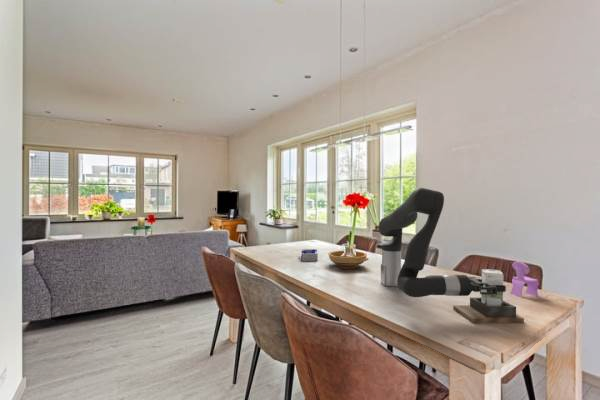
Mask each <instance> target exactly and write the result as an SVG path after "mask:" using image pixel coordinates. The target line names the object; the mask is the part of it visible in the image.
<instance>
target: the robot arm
mask: <svg viewBox="0 0 600 400" xmlns="http://www.w3.org/2000/svg"><path fill="white" fill-rule="evenodd" d="M444 202H445V195H444V194H443V193H442V192H441V191H438V190H434V189H430V188H425V187H416V188H415V189H414V190H412V192H411V193H410V194H409V196H408V197H407V198H406V200H405V201H403V203H401V204H400V205H399V206H397V207H396V208H395V209H394V210H393V211H392V212H391V213H390V214H389V215H387V216H385V217H383V218H381V220H380V221H379V223H378V225H377V226H378V227H377V228H378V233H379V234H380V235H381V236H383V237H391V240H388V241H387V242H384V243H382V244H381V253H382V254H381V263H380V283H381V285H383V286H384V287H397V288H398V289H399V290H400V291H401V292H402V293H403V294H405V296H408V297H411V298H423V297H428V296H446V297H447V296H448V297H467V296H470V295H471V293H472V292H473V293H479V295H481V294H482V295H483V294H497V292H503V293H506V291H507V287H506V285H504V284H503V285H489V284H488V283H485V282H482V278H477V277H475V276H467V275H466V274H441V275H440V274H439V275H435V274H434V275H430V274H429V275H427V276H425V277H418V275H419V272H421V271H422V270H424V268H425V264H426V261H427V260H426V259H427V256H428V250H429V248H430V243H431V241H432V238H433V237H434V233H435V230H436V227H437V225H438V222H439V219H440V216H441V214H442V211H443V208H444V204H445V203H444ZM418 213H419V214H425V215H427V219H426V221H425V224H424V225H423V226H422V228H421V229H420V230H419V231H418V232H417V233H416V234H415V235H414V236H413V237H412V238H411V239H410V241H409V243H408V245H407V248H406V252H405V256H404V262H403V263H402V245H403V229H405V228H408V227H410V226H411V225H413V224H414V223H416V221H417V220H418ZM484 285H485V287H484ZM491 289H492V290H491Z"/></svg>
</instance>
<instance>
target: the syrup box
mask: <svg viewBox="0 0 600 400" xmlns="http://www.w3.org/2000/svg"><path fill="white" fill-rule="evenodd" d="M481 279H482V282H485V283H488V284H489V285H504V274H503V272H502V271H501V270H498V269H488V268H487V269H486V268H482V269H481ZM484 287H485V285H484ZM491 290H492V289H491ZM480 295H481V296H480V297H481V302H482V303H484V304H486V305H487V306H503V301H504V292H497V294H483V295H482V294H480Z"/></svg>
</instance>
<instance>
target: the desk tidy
mask: <svg viewBox="0 0 600 400" xmlns="http://www.w3.org/2000/svg"><path fill="white" fill-rule="evenodd" d="M313 249H314V248H311V249H309V248H307V249H306V248H305V249H304V248H303V249H301V261H302V262H318V261H319V260H318V259H319V257H318V251H317V252H316V251H315V254H310V253H312V250H313ZM302 251H306V253H307V254H304V253H302Z"/></svg>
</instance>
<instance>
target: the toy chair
mask: <svg viewBox="0 0 600 400" xmlns="http://www.w3.org/2000/svg"><path fill="white" fill-rule="evenodd" d="M512 268H513V269H514V271H515V272H516V276H512V280H511V282H512V283H511V284H512V287H511V290H510V292H509V294H511V295H514V296H515V297H519V298H523V288H524V286H526V285H527V287H526V290H525V291H524V293H525V294H528V295H532V296H535V297H539V293H538V287H539V280H538V279H536V278H532V277H529V276H526V275H528V274H529V273H530V267H529V266H528V265H527V264H526V263H525V262H521V261H517V260H516V261H514V262H513V263H512ZM525 284H526V285H525Z"/></svg>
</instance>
